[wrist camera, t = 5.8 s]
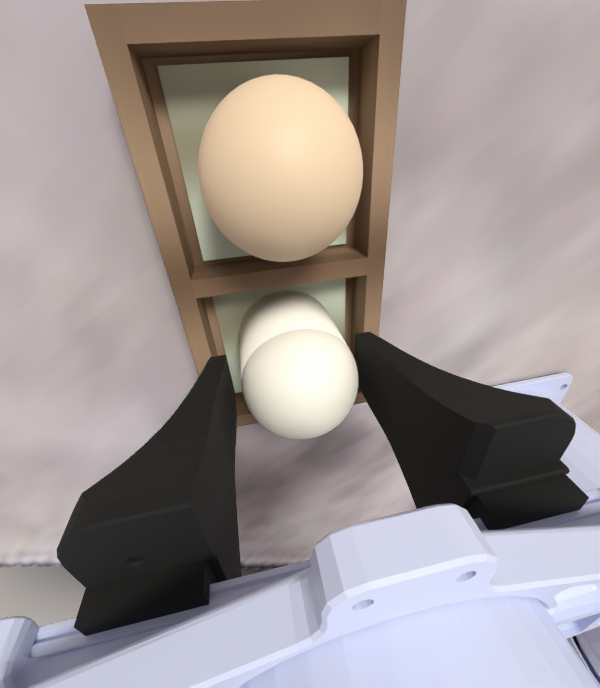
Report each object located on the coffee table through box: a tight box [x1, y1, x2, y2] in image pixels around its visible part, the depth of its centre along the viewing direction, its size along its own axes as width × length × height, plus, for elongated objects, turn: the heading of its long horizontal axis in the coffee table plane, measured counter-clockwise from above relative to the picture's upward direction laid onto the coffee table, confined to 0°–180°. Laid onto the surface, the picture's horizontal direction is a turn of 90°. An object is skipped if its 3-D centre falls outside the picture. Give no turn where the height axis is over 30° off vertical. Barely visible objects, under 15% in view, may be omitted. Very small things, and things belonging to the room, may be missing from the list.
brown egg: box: [198, 74, 363, 262], centre depth 9 cm, size 4×4×6 cm
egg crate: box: [84, 0, 407, 427], centre depth 13 cm, size 14×8×2 cm, turn 3°
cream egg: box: [239, 291, 358, 439], centre depth 13 cm, size 4×4×6 cm
